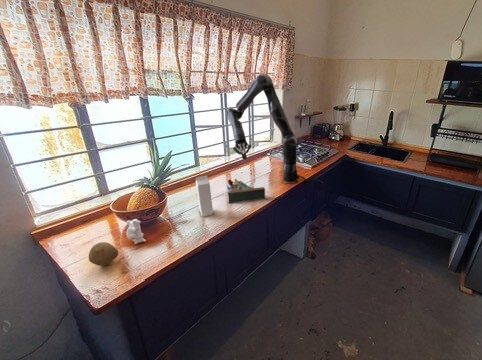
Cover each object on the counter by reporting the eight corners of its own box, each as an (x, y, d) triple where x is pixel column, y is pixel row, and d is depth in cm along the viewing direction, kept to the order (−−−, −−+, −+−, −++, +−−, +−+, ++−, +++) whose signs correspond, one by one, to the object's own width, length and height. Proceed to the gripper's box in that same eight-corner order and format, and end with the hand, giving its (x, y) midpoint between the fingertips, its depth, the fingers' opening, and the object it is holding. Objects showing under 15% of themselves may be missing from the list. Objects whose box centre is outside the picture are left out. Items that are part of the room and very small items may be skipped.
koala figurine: (151, 239, 114) (145, 217, 109) (137, 247, 108) (131, 224, 103) (139, 234, 117) (133, 212, 112) (125, 242, 111) (118, 219, 107)
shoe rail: (264, 196, 155) (263, 187, 152) (265, 198, 153) (264, 188, 150) (228, 201, 149) (227, 191, 146) (229, 203, 147) (228, 193, 144)
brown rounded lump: (86, 268, 96) (78, 247, 92) (109, 254, 104) (102, 234, 100) (102, 274, 93) (94, 253, 89) (124, 259, 101) (118, 239, 97)
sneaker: (255, 199, 151) (254, 185, 147) (224, 194, 157) (223, 180, 153) (260, 194, 158) (259, 180, 154) (231, 190, 164) (229, 176, 160)
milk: (213, 214, 135) (209, 177, 126) (202, 217, 132) (196, 179, 123) (210, 209, 140) (206, 173, 131) (199, 212, 137) (194, 175, 128)
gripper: (229, 134, 162) (235, 159, 159) (249, 132, 166) (255, 155, 162) (229, 139, 169) (235, 162, 166) (248, 136, 173) (254, 159, 169)
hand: (245, 159), depth 164 cm, fingers closed
